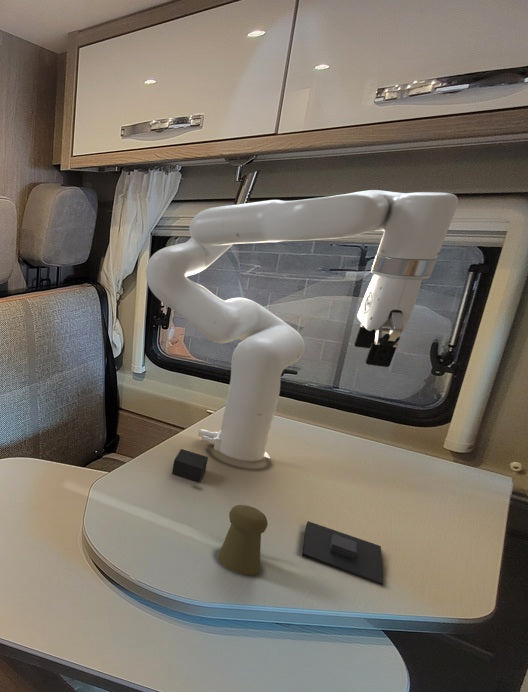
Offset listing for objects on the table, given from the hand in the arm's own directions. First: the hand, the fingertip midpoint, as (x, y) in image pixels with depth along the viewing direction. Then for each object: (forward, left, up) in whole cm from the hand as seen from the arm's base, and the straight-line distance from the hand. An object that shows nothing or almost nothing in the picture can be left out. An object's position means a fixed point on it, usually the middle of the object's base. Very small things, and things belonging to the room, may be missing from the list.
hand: (370, 355), depth 86 cm
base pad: (+2, -24, -29) cm, 37 cm away
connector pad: (-24, -15, -29) cm, 40 cm away
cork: (-11, -38, -29) cm, 49 cm away
